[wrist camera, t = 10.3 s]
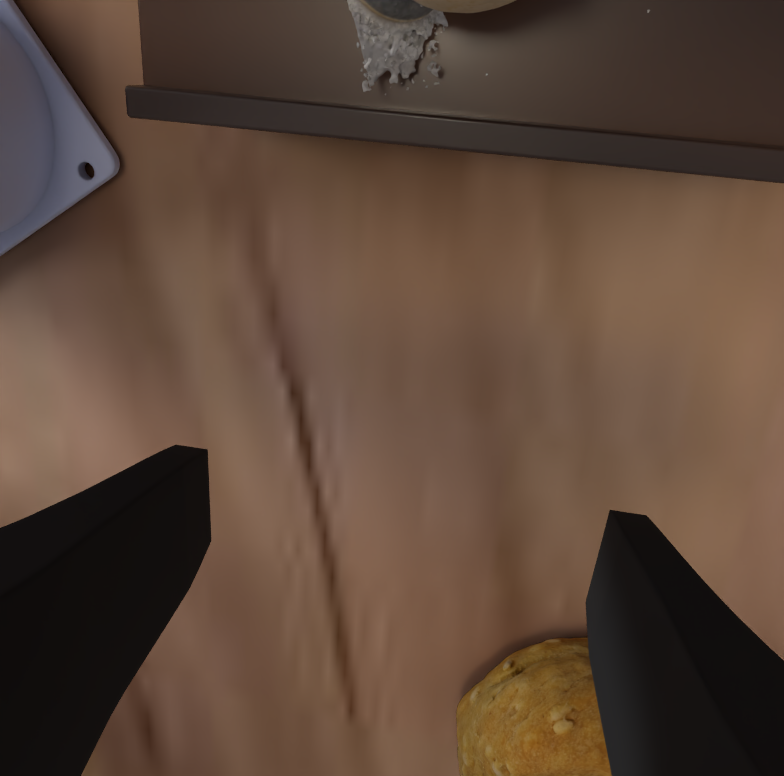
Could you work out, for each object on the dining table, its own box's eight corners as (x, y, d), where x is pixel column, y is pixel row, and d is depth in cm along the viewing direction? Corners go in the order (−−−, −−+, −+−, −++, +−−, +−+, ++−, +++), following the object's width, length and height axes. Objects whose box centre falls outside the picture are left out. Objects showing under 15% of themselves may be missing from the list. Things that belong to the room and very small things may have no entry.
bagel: (397, 697, 29) (379, 807, 24) (621, 572, 24) (646, 679, 20) (548, 832, 31) (555, 955, 26) (777, 738, 26) (830, 867, 22)
